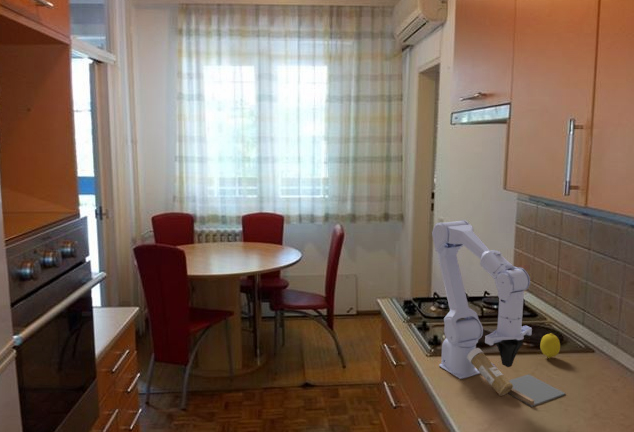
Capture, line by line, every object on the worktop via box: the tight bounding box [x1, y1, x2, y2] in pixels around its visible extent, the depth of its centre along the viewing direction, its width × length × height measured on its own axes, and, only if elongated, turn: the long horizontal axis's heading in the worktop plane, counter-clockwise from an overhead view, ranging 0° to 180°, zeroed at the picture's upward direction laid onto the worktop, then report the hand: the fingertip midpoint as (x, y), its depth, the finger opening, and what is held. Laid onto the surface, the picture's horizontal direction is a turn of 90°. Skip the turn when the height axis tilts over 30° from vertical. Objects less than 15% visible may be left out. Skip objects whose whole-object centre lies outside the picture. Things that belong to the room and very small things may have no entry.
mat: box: [507, 374, 566, 408], centre depth 139 cm, size 12×13×2 cm
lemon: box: [539, 332, 561, 359], centre depth 157 cm, size 6×6×8 cm
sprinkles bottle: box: [467, 347, 513, 397], centre depth 139 cm, size 5×5×14 cm
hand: (506, 365), depth 133 cm, fingers closed
